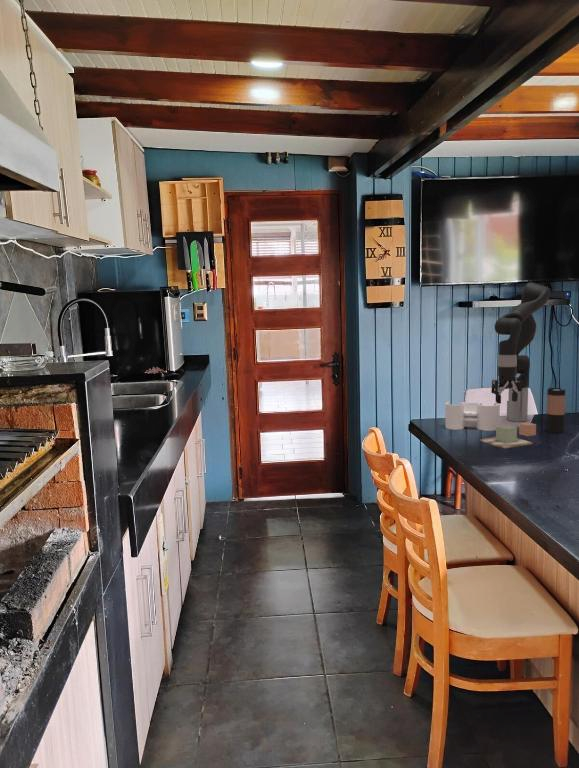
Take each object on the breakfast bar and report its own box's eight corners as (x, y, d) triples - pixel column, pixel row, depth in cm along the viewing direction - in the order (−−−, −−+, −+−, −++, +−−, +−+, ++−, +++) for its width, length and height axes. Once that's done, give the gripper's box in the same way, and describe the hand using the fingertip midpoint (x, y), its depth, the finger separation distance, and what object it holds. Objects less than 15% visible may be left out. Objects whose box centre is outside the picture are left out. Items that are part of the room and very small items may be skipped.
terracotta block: (519, 434, 261) (519, 423, 260) (527, 433, 263) (527, 422, 262) (527, 436, 256) (527, 425, 256) (535, 435, 258) (536, 424, 258)
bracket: (445, 429, 275) (445, 405, 273) (445, 425, 284) (445, 401, 283) (500, 431, 268) (500, 406, 266) (498, 426, 277) (499, 402, 276)
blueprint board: (480, 440, 251) (480, 438, 251) (507, 437, 256) (507, 435, 256) (504, 448, 237) (504, 446, 237) (532, 444, 242) (532, 442, 242)
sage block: (495, 439, 248) (496, 426, 247) (506, 438, 250) (507, 424, 250) (505, 442, 243) (505, 429, 242) (516, 441, 245) (517, 427, 244)
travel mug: (545, 432, 261) (546, 390, 258) (546, 429, 268) (547, 387, 265) (563, 434, 258) (565, 390, 255) (564, 430, 264) (566, 388, 262)
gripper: (514, 363, 248) (513, 399, 250) (487, 365, 243) (487, 402, 245) (526, 364, 241) (525, 402, 243) (500, 367, 236) (499, 405, 238)
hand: (506, 402), depth 244 cm, fingers open, 8 cm apart
